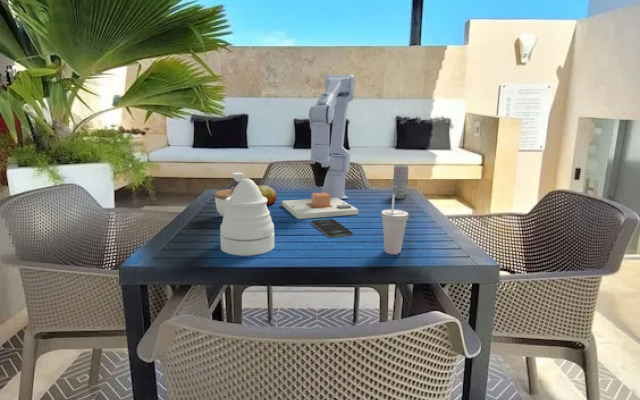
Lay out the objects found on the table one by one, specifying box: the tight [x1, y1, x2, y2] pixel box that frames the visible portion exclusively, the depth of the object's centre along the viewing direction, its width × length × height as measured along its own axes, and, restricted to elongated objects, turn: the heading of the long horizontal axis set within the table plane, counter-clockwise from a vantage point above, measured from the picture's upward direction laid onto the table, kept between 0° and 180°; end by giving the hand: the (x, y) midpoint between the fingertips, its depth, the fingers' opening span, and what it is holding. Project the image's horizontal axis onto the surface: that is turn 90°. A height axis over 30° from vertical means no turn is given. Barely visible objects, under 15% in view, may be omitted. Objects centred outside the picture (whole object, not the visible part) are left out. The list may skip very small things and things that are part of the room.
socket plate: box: [281, 197, 360, 220], centre depth 141 cm, size 18×20×2 cm
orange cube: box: [311, 192, 330, 208], centre depth 141 cm, size 5×5×5 cm
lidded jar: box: [214, 186, 236, 219], centre depth 129 cm, size 11×11×9 cm
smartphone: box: [310, 218, 354, 239], centre depth 120 cm, size 8×1×15 cm
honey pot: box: [219, 172, 275, 256], centre depth 103 cm, size 13×13×18 cm
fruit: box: [256, 184, 278, 206], centre depth 148 cm, size 11×10×8 cm
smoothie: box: [380, 194, 410, 255], centre depth 101 cm, size 6×6×14 cm
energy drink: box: [391, 164, 409, 200], centre depth 161 cm, size 5×5×12 cm
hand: (319, 186), depth 139 cm, fingers closed
